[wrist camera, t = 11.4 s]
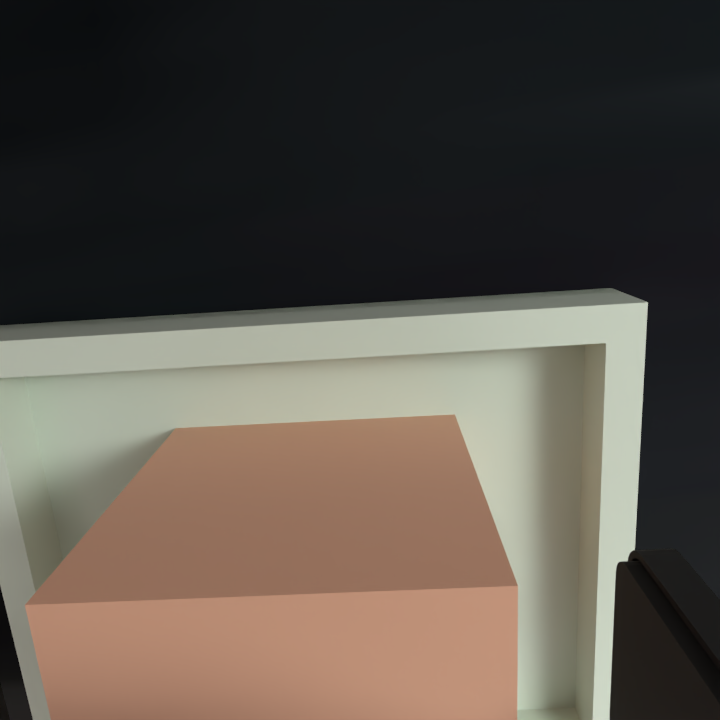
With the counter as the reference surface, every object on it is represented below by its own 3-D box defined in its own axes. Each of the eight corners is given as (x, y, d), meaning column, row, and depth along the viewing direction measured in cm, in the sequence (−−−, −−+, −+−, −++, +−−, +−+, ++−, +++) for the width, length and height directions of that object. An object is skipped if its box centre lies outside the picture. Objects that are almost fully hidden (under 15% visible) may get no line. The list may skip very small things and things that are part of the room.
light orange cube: (167, 428, 11) (9, 605, 6) (455, 414, 11) (518, 586, 6) (202, 662, 12) (92, 957, 8) (460, 653, 12) (516, 950, 7)
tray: (-3, 325, 11) (-59, 344, 10) (611, 287, 11) (648, 302, 9) (85, 729, 14) (50, 792, 12) (595, 711, 13) (622, 774, 12)
